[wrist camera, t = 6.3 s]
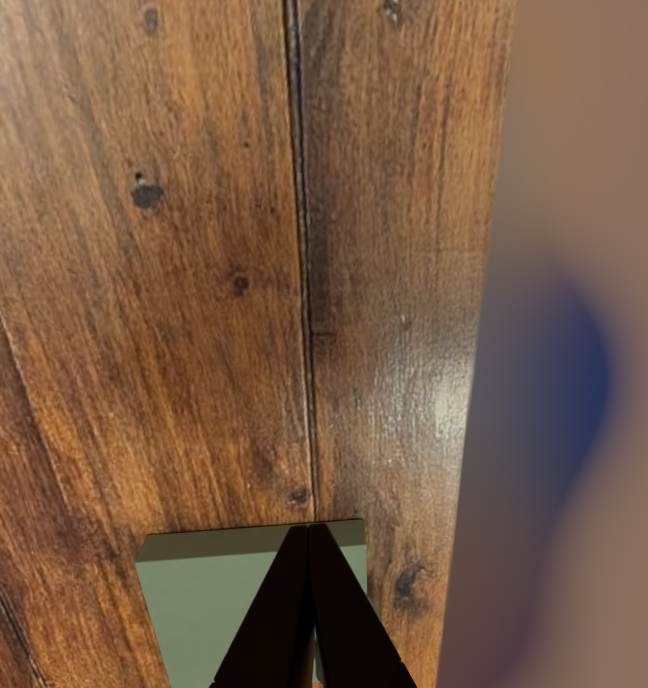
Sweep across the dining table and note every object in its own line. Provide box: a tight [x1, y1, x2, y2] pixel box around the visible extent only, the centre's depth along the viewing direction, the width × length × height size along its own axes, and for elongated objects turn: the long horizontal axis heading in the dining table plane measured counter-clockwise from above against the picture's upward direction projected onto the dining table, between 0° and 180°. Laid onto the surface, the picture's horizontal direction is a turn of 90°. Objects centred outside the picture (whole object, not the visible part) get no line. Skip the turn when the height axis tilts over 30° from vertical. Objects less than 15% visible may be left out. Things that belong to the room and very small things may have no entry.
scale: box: [134, 519, 382, 688], centre depth 23 cm, size 14×12×4 cm
